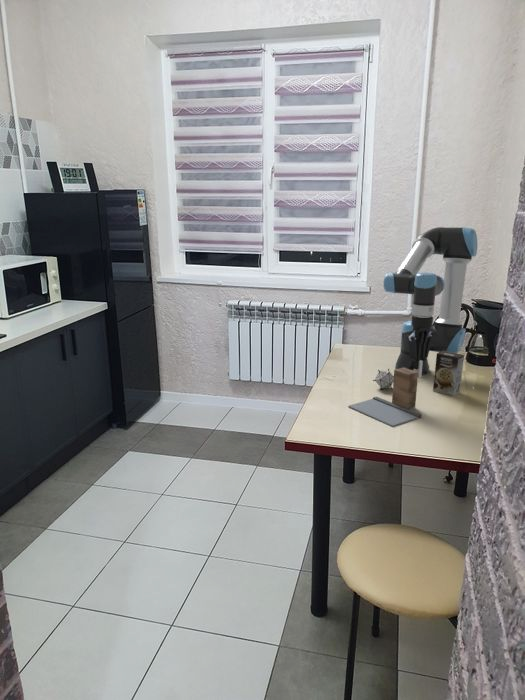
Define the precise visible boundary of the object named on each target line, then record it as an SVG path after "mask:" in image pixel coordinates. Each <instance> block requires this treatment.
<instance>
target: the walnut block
mask: <svg viewBox="0 0 525 700" xmlns="http://www.w3.org/2000/svg"><path fill="white" fill-rule="evenodd" d="M393 376H394V381H393V384H392V396H391V397H392V399H391V400H392V401H391V403H394V404H396V405H399V406H401V407H404V408H406V409H409V410H413V409H415V408H416V402H417V401H416V400H417V392H418V391H417V390H418V380H419V378H418V372H416V371H413V370H410V369H407V368H404V367H403V368H399V369H395V368H394V371H393Z"/></svg>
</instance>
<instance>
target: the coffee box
mask: <svg viewBox="0 0 525 700" xmlns="http://www.w3.org/2000/svg"><path fill="white" fill-rule="evenodd" d="M464 359H465V354H463V353H452V352H447V351H442V352H436V359H435V366H434V367H435V368H434V377H433V385H432V386H433V388H432V391H433V392H437V393H441V394H443V395H444V394H445V395H448V396H452V397H455V396H456V395H458V394H459V393H461V383H462V375H463V368H464V367H463V366H464V362H465V360H464Z"/></svg>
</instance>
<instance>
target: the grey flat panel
mask: <svg viewBox="0 0 525 700" xmlns="http://www.w3.org/2000/svg"><path fill="white" fill-rule="evenodd" d="M348 408H349V409H352V410H354V411H356V412H359V413H361V414H363V415H365V416H367V417H369V418H371V419H374V420H376V421H379V422H381V423H383V424H386V425H388V426H389V427H393V428H394V427H396V426H400V425H403V424H405V423H408V422H409V423H410V422H412V421H414V420H418V419H421V418H422V417H423V415H422V414H421V413H418V412H416V411H413V410H412V409H406V408H404V407H401V406H399V405H396V404H394V403H392V401H389V400H386V399H383V398H381V397H378V396H374V397H372V399H371V398H370V399H367V400H364V401H361V402H357V403H353V404H350V405H348Z"/></svg>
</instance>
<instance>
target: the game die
mask: <svg viewBox="0 0 525 700" xmlns="http://www.w3.org/2000/svg"><path fill="white" fill-rule="evenodd" d="M377 371H378V372H377V375H376V377H375V379H373V380H372V381H373V382H375V383H377V385H378V387H380V390H382V389H387V388H390V389H392V390H393V381H394V374H392V372H391V371H390V368H388V369H386V370H379V369H377Z"/></svg>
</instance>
